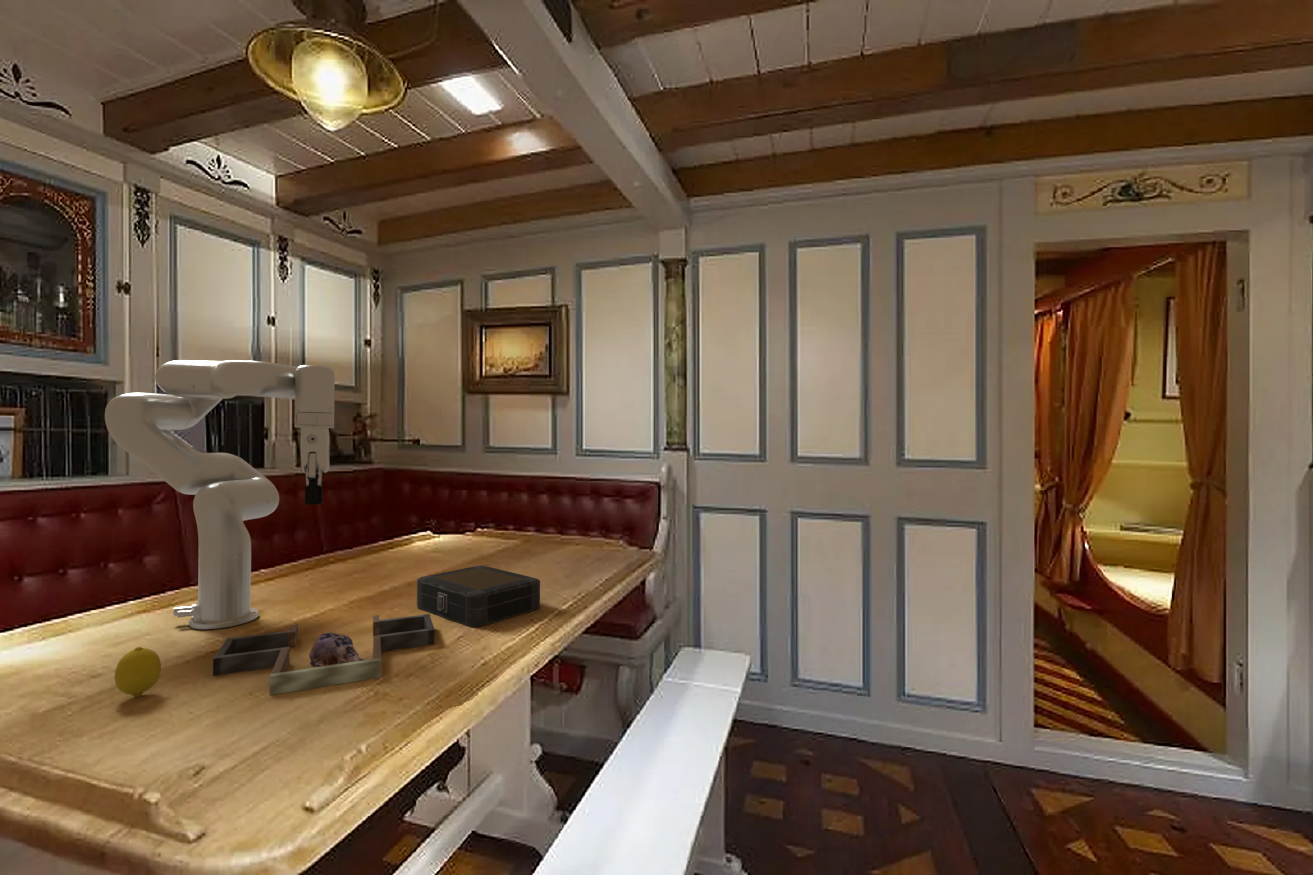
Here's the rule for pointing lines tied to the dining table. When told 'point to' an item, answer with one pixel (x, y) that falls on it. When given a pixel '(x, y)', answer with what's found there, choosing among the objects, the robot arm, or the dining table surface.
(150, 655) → the lemon
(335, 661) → the skull
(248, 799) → the dining table surface
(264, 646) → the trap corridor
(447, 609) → the cash box
